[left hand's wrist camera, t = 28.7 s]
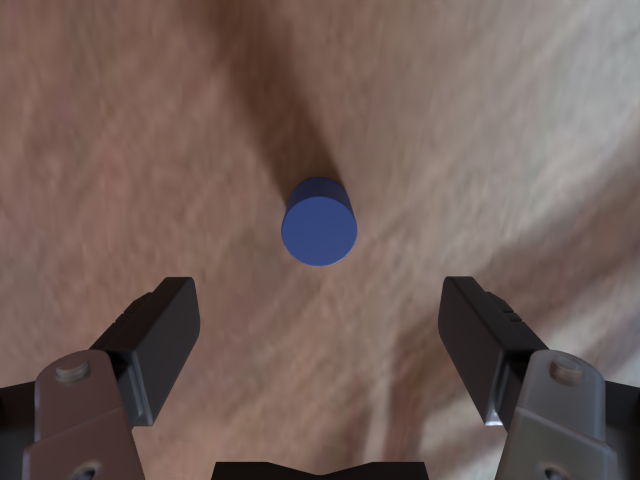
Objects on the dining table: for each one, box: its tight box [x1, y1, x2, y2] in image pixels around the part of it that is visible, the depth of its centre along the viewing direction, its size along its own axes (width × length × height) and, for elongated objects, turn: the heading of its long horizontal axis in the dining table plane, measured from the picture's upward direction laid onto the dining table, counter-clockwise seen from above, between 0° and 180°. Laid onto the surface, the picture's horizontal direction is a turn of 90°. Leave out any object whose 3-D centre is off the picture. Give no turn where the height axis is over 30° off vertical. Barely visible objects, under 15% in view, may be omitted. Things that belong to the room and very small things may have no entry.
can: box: [281, 177, 357, 266], centre depth 19 cm, size 4×4×4 cm
